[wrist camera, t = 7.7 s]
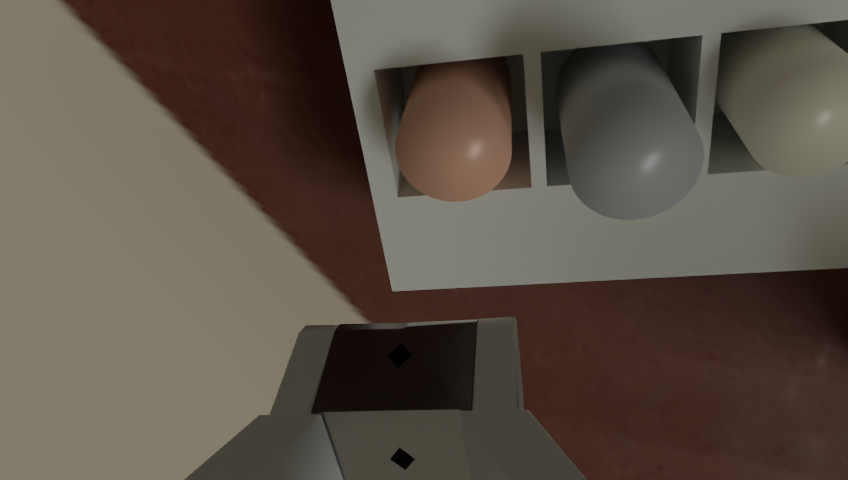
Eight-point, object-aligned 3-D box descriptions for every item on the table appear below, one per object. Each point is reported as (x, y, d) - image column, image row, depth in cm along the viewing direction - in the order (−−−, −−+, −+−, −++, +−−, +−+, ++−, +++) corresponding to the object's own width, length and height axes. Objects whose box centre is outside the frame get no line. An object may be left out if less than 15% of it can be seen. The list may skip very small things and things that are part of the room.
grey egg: (553, 39, 18) (566, 109, 14) (665, 28, 17) (709, 96, 13) (557, 138, 19) (569, 224, 15) (660, 129, 19) (698, 215, 15)
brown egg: (408, 40, 19) (385, 102, 16) (507, 29, 19) (507, 90, 15) (422, 130, 21) (404, 205, 17) (514, 121, 20) (515, 197, 17)
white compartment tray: (353, -99, 19) (316, -68, 15) (872, -175, 16) (979, -162, 13) (409, 212, 24) (392, 291, 20) (805, 184, 22) (865, 267, 18)
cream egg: (702, 7, 18) (753, 66, 14) (816, -6, 18) (898, 52, 14) (695, 105, 20) (738, 181, 16) (798, 96, 19) (869, 172, 15)
